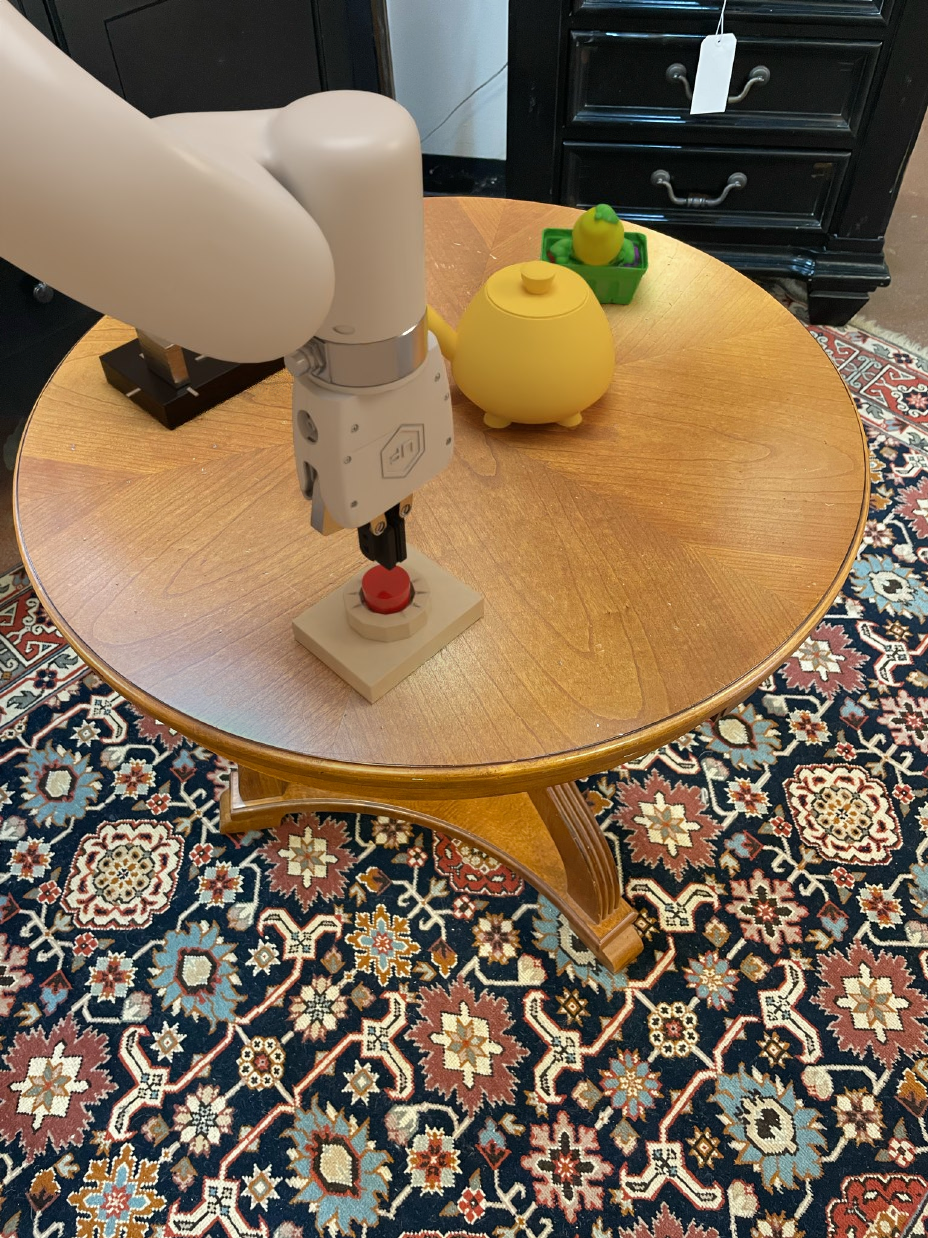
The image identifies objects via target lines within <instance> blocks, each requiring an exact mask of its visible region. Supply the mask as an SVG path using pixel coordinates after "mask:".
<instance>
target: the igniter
mask: <svg viewBox="0 0 928 1238" xmlns="http://www.w3.org/2000/svg"><path fill="white" fill-rule="evenodd" d="M406 550H407V559H406V560H404V561H403V562H401V563H400V562H398V563H397V564H396V565H397V566H400V567H401V568H403V569H404V570H405V571H406V572H407V573H408V575H409V577H410V587H411V599H410V602H409V604H408V605H407V606H406V607H405V608H404V609H403V610H401V611H399V612H397V613H393V614H379V613H376V612H373V611H372V610H370V609H369V608H368V607H367V606H366V604H365V602H364V598H363V590H362V579H363V576H364V575H365V573H366V572H367V571H368V570H369V569H371V568H372V567H374V566H377V565H380V564H379V563H378V562H376V561H372V563H370V564H368V565H366V566H364V567H363V568H361V569H359V571H357V572H356V573H354V574H353V575H352V576H350V577H349V579H347V580H346V581H345V582H343V583H342V584H341V585H339V586H338V587H336V588H335V589H333V590H332V591H331V592H329V593H328V594H326V595H325V596H323V597H322V598H321V599H320V600H318V601H317V602H315V603H314V604H313V605H311V606H309V607H308V608H307V609H306V610H304V611H302V613H300V614H299V615H297V616H296V617H294V618H293V619H291V627H292V631H293V636H294V639H295V640H296V641H297V642H299V643H300V644H301V645H302V646H303V647H304V648H306V649H307V650H308V651H309V652H310V653H312V654H313V655H314V656H315V657H316V658H317V659H319V660H320V661H321V662H322V663H323V664H325V666H327V667H328V668H329V669H330V670H331V671H332V672H334V673H335V674H337V676H339V677H340V678H341V679H342V680H344V681H345V682H346V683H347V684H348V685H349V686H350V687H351V688H353V689H354V690H355V691H356V692H357V693H359V694H360V695H361V696H362V697H363V698H365V699H366V700H367V701H368V702H369V703H370V704H371V705H373V704H375V703H376V702H377V701H379V700H380V699H382V697H384V696H385V695H386V694H387V693H388V692H390V691H391V690H392V689H394V688H395V687H396V686H398V684H400V683H401V682H402V681H403V680H405V679H406V678H408V676H410V675H411V674H412V673H413V672H415V671H416V670H418V669H419V667H421V666H422V665H423V664H425V662H427V661H429V660H430V659H431V658H432V657H434V655H436V654H437V653H439V651H441V650H442V649H443V648H444V647H446V646H448V645H449V644H450V643H451V642H452V641H453V640H455V639H456V638H457V637H458V636H459V635H461V634H462V633H463V632H464V631H465V630H467V629H468V628H469V627H471V626H472V625H474V623H476V622H477V621H478V620H480V619H481V618H482V617H483V616H484V614H485V613H484V612H485V611H484V610H485V597H484V596H483V595H482V594H481V593H479V592H477V591H476V590H474V589H473V588H472V587H471V586H469V585H468V584H467V583H465V582H464V581H462V580H461V579H460V578H458V577H457V576H455V575H454V574H452V573H451V572H450V571H449V570H447V569H446V568H444V567H443V566H441V565H440V564H438V563H437V562H436V561H434V560H433V559H432V558H430V557H429V556H427V555H426V554H425V553H424V552H422V551H420V550H419V549H418V548H416V547H415V546H414V545H412V544H411V543H409V542H408V541H407V540H406Z"/></svg>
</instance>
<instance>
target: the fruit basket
mask: <svg viewBox="0 0 928 1238" xmlns="http://www.w3.org/2000/svg"><path fill="white" fill-rule="evenodd" d="M540 244H541V245H540V246H541V247H540V256H539V261H546V262H549V263H552V264H557V265H560V266H563V267H566V268H568V269H570V270H572V271H574V272H575V273H577V274H578V275H580V276H581V277H582V278H583V279H584V280H585V281H586V283H587V284H588V285H589V287H590V288H591V289H592V291H593V293H594V295H595V296H596V298H597V300H598V302H599V303H600V304H611V303H613V304H615V305H630V304H631V303H632V300H633V298H634V296H635V294H636V291H637V290H638V288H639V285H640V283H641V281H642V278H643V276H644V275H645V274H646V273H647V271H648V269H649V253H648V238H647V235H646V234H644V233H642V232H637V231H625V229H624V225H623V223H622V221H621V219H620V217H619V216H617V213H616V211H615V210H614V209H613V207H611V206H610V205H609V204H605V203H600V204H597V205H596V206H593V207H591V208H589V209H587V211H585V212H583V213H582V214H581V215H580V216H579V217H578V218H577V220H576V221H575V223H574V225H573V228H560V227H546V228H544V229H542V231H541V243H540Z"/></svg>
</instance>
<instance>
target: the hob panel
mask: <svg viewBox="0 0 928 1238" xmlns="http://www.w3.org/2000/svg"><path fill="white" fill-rule="evenodd" d="M181 349H182V353H183V357H184V360H185V364H186V368H187V372H188V375H189V379H190V383H188V384H186V385H184V386H182V387H180V388H178V389H175V388H174V387H173V386H171V385H170V384H169V383H167V382H166V381H165V380H163V379H162V378H161V377H159V376H158V375H157V374H155V373H154V372H153V371H151V370H150V369H149V368H147V366H146V362H145V359H144V356H143V353H142V349H141V346H140V343H139V339H138V337H136V338H134V339H131V340H130V341H127V342H126V343H123V344H121V345H120V346H117V347H115V348H112V349H111V350H109V351H107V352H105V353H102V354H101V355H99V356H98V359H99V362H100V364H101V365H100V366H101V367H102V370H103V373H104V376H105V379H106V382H107V383H108V384H110V385H111V386H112V387H113V388H115V389H116V390H118V391H119V392H120V393H121V394H122V395H124V396H125V397H127V398H128V399H129V400H131V401H132V402H133V403H134V404H136V405H137V406H138V407H140V408H141V409H142V410H144V411H145V412H146V413H147V414H149V415H150V416H152V417H153V418H154V419H155V420H157V421H158V422H159V423H161V424H162V425H163V426H165V427H166V428H167V429H169V430H170V431H173V430H175V429H176V428H178V427H180V426H182V425H184V424H185V423H187V422H189V421H191V420H193V419H194V418H196V417H198V416H200V415H202V414H204V413H206V412H208V411H210V410H211V409H213V408H214V407H216V406H218V405H220V404H222V403H223V402H226V401H227V400H229V399H231V398H233V397H234V396H236V395H238V394H240V393H241V392H244V391H245V390H248V389H249V388H251V387H252V386H254V385H256V384H258V383H259V382H261V381H263V380H265V379H267V378H269V377H270V376H272V375H274V374H276V373H278V372H280V371H282V370H284V369H285V368H286V366H285V363H284V357H285V356H283V357H281V358H278V359H275V360H271V361H266V362H260V363H237V362H231V361H224V360H219V359H215V358H212V357H208V356H204V355H202V354H199V353H196V352H193V351H191V350H188V349H186V348H183V347H181Z"/></svg>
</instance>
